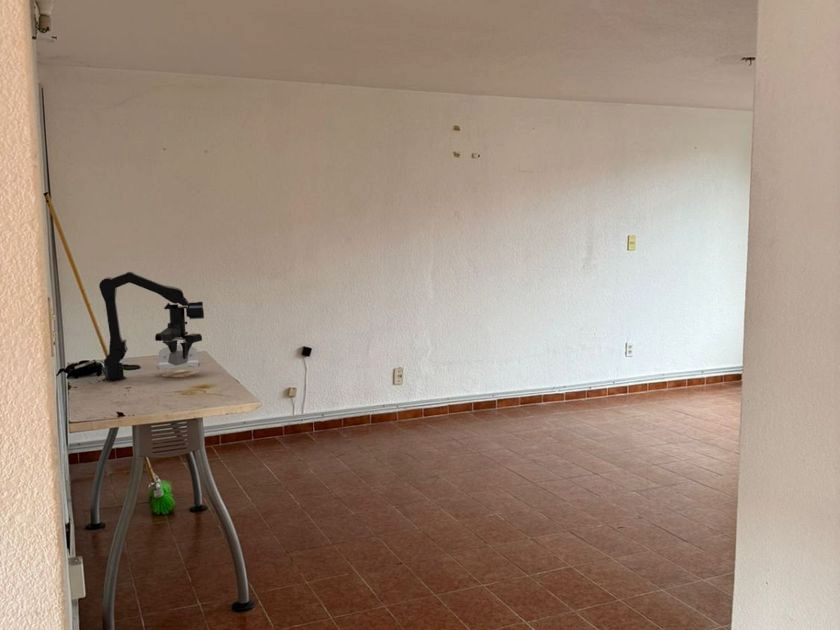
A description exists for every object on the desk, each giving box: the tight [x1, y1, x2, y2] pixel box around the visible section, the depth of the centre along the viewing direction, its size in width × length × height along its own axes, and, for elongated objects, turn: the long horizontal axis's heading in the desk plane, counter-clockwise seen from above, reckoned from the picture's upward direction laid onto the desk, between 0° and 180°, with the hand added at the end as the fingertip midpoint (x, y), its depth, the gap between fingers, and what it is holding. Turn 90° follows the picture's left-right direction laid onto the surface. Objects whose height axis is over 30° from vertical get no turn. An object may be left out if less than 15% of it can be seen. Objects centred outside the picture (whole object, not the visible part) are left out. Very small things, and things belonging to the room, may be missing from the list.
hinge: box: [157, 344, 200, 370], centre depth 335 cm, size 17×5×10 cm, turn 107°
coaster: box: [161, 369, 200, 379], centre depth 318 cm, size 10×10×1 cm
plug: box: [168, 350, 189, 366], centre depth 318 cm, size 4×9×4 cm
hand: (179, 358), depth 317 cm, fingers closed on plug, 4 cm apart
